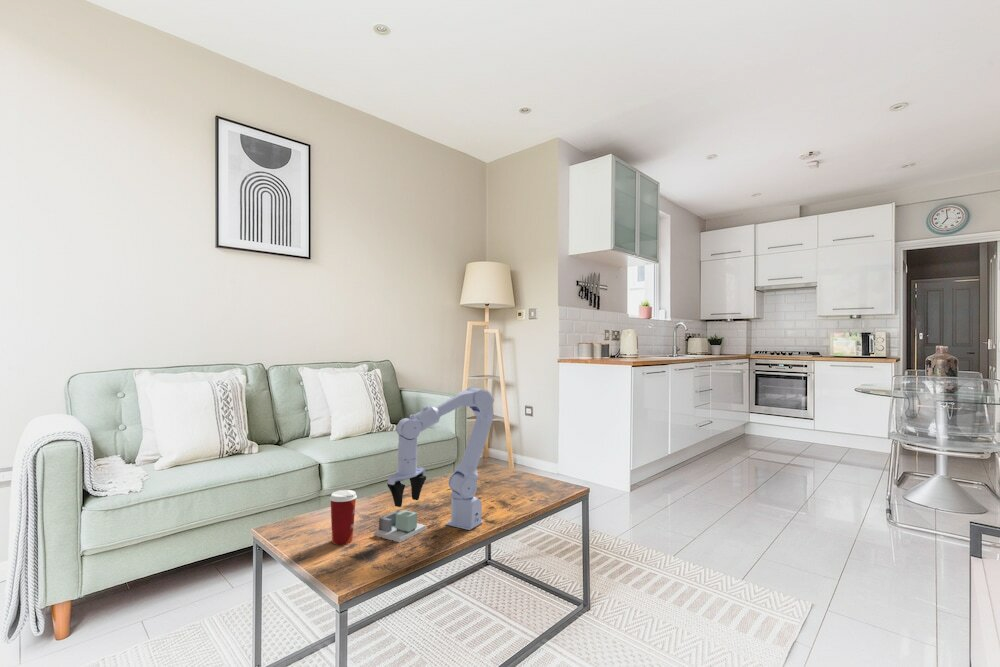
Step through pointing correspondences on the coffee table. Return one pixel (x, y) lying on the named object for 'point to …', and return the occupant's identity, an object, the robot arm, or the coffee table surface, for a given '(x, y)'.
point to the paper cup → (342, 516)
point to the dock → (389, 528)
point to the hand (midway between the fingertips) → (406, 502)
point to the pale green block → (406, 521)
